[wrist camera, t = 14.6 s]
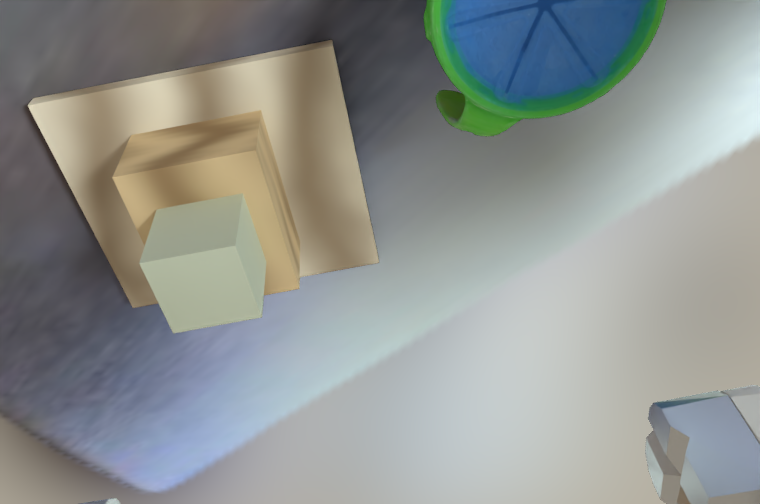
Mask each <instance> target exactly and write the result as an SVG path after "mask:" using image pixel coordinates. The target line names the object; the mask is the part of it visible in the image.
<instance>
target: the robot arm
mask: <svg viewBox="0 0 760 504" xmlns="http://www.w3.org/2000/svg"><path fill="white" fill-rule="evenodd" d="M648 419H649V422H650V424H651V426H652V428H653V431H652V432H651V433H650V434H649V436H647V437H646V449H645V454H646V459H647V465H648V470H649V473H650V476H651V479H652V482H653V485H654V487H655V489H656V491H657V494H658V496H659V498H660V500H662V501H663V502H664V503H666V504H760V387H759V386H757V385H751V386H746V387H740V388H735V389H730V390H725V391H720V392H719V391H713V392H708V393H703V394H697V395H692V396H687V397H682V398H676V399H671V400H666V401H661V402H656V403H653V404H652V405H651V407H650V409H649V417H648ZM81 504H120V502H119V501H118V500H117V499H116V498H112V499H106V500H99V501H93V502H87V503H81Z"/></svg>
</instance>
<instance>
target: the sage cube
mask: <svg viewBox="0 0 760 504" xmlns="http://www.w3.org/2000/svg"><path fill="white" fill-rule="evenodd" d="M139 264H140V266H141V268H142V270H143V272H144V274H145V276H146V278H147V280H148V283H149V285H150V287H151V289H152V291H153V293H154V295H155V297H156V299H157V301H158V303H159V305H160V307H161V309H162V311H163V313H164V315H165V317H166V319H167V322H168V324H169V326H170V328H171V330H172V332H173V333H179V332H184V331H190V330H195V329H201V328H206V327H212V326H217V325H222V324H228V323H233V322H239V321H244V320H250V319H255V318H261V317H262V311H263V298H264V286H265V274H266V259H265V256H264V253H263V250H262V247H261V244H260V242H259V239H258V236H257V233H256V230H255V227H254V224H253V221H252V218H251V215H250V212H249V209H248V206H247V204H246V201H245V198H244V195H243V193H241V194H236V195H231V196H225V197H220V198H215V199H210V200H204V201H199V202H194V203H188V204H183V205H178V206H173V207H167V208H162V209H157V210H156V213H155V216H154V219H153V222H152V225H151V229H150V232H149V235H148V238H147V241H146V244H145V247H144V250H143V253H142V256H141V259H140V263H139Z"/></svg>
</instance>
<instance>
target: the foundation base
mask: <svg viewBox="0 0 760 504" xmlns="http://www.w3.org/2000/svg"><path fill="white" fill-rule="evenodd" d="M28 107H29V109H30V111H31V113H32V115H33V117H34V119H35V121H36V123H37V125H38V127H39V129H40V130H41V132H42V134H43V136H44V138H45V140H46V142H47V144H48V146H49V148H50V150H51V152H52V154H53V155H54V157H55V159H56V161H57V163H58V165H59V167H60V169H61V171H62V173H63V175H64V177H65V178H66V180H67V182H68V184H69V186H70V188H71V190H72V192H73V194H74V196H75V198H76V200H77V202H78V203H79V205H80V207H81V209H82V211H83V213H84V215H85V217H86V219H87V221H88V223H89V225H90V226H91V228H92V230H93V232H94V234H95V236H96V238H97V240H98V242H99V244H100V246H101V248H102V250H103V251H104V253H105V255H106V257H107V259H108V261H109V263H110V265H111V267H112V269H113V271H114V273H115V274H116V276H117V278H118V280H119V282H120V284H121V286H122V288H123V290H124V292H125V294H126V296H127V298H128V299H129V301H130V303H131V305H132V307H133V308H136V307H141V306H147V305H152V304H158V301H157V299H156V297H155V295H154V293H153V291H152V289H151V287H150V285H149V283H148V280H147V278H146V276H145V274H144V272H143V270H142V268H141V266H140V264H139V263H140V259H141V256H142V253H143V250H144V247H145V244H146V241H147V238H148V235H149V232H150V229H151V225H152V222H153V219H154V216H155V213H156V210H157V209H162V208H167V207H173V206H178V205H183V204H188V203H194V202H199V201H204V200H210V199H215V198H220V197H225V196H231V195H236V194H241V193H243V195H244V198H245V201H246V204H247V206H248V209H249V212H250V215H251V218H252V221H253V224H254V227H255V230H256V233H257V236H258V239H259V242H260V244H261V247H262V250H263V253H264V256H265V259H266V274H265V286H264V295H268V294H274V293H279V292H285V291H290V290H295V289H299V284H300V277H304V276H310V275H315V274H321V273H326V272H331V271H337V270H342V269H348V268H353V267H359V266H364V265H369V264H375V263H379V258H378V252H377V248H376V243H375V238H374V234H373V229H372V224H371V220H370V215H369V210H368V206H367V201H366V196H365V192H364V187H363V182H362V178H361V173H360V168H359V163H358V159H357V154H356V149H355V145H354V140H353V135H352V131H351V126H350V121H349V117H348V112H347V107H346V103H345V98H344V93H343V89H342V84H341V79H340V75H339V70H338V65H337V61H336V56H335V51H334V47H333V42H332V40H328V41H323V42H318V43H313V44H308V45H303V46H298V47H293V48H287V49H282V50H277V51H272V52H267V53H262V54H257V55H252V56H247V57H242V58H236V59H231V60H226V61H221V62H216V63H211V64H206V65H201V66H196V67H190V68H185V69H180V70H175V71H170V72H165V73H160V74H155V75H150V76H144V77H139V78H134V79H129V80H124V81H119V82H114V83H109V84H104V85H99V86H93V87H88V88H83V89H78V90H73V91H68V92H63V93H58V94H53V95H47V96H42V97H37V98H33V99H32V100H31V102H30V103H29V104H28Z"/></svg>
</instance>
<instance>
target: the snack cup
mask: <svg viewBox="0 0 760 504" xmlns="http://www.w3.org/2000/svg"><path fill="white" fill-rule="evenodd" d="M666 1H667V0H427V3H426V9H425V12H424V28H425V34H426V38H427V39H428V40H429V41H430V42H431V43H432V46H433V49H434V52H435V55H436V57H437V59H438V61H439V63H440V65H441V66H442V68H443V70H444V72H445V73H446V75H447V76H448V78H449V79H450V80H451V82H452V83H453V84H454V85H455V87H456V88H457V89H458V90H459V91H460V92H461V93H459V92H455V91H450V90H441V91H439V92H438V93H437V95H436V103H437V107H438V109H439V110H440V112H441V113H442V116H443V117H444V118H445V120H446V121H447V122H448V123H449V124H450V125H451V126H453V127H455V128H457V129H460V130H463V131H468V132H472V133H473V134H475V135H479V136H494V135H498V134H500V133H501V132H504V131H506V130H507V129H508V128H510V127H511V126H513V125H514V124H515V123H517V122H518V121H520V120H521V119H524V118H525V119H534V118H545V117H551V116H557V115H562V114H565V113H568V112H571V111H573V110H576V109H578V108H581V107H583V106H585V105H587V104H588V103H590V102H593V101H594V100H596V99H597V98H599V97H601V96H603V95H605V94H606V93H607V92H608V91H609V90H610V89H612V88H613V87H614V86H615V85H616V84H618V83H619V82H620V81H621V80H622V79H623V78H625V76H626V75H627V74H628V73H629V72H630V71H631V70H632V69H633V68H634V66H635V65H636V64H637V63H638V62H639V60H640V59H641V58H642V56H643V54H644V53H645V52H646V50H647V49H648V47H649V45H650V43H651V41H652V40H653V38H654V36H655V34H656V31H657V29H658V27H659V24H660V22H661V19H662V16H663V12H664V9H665V4H666ZM462 93H463V94H462Z"/></svg>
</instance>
